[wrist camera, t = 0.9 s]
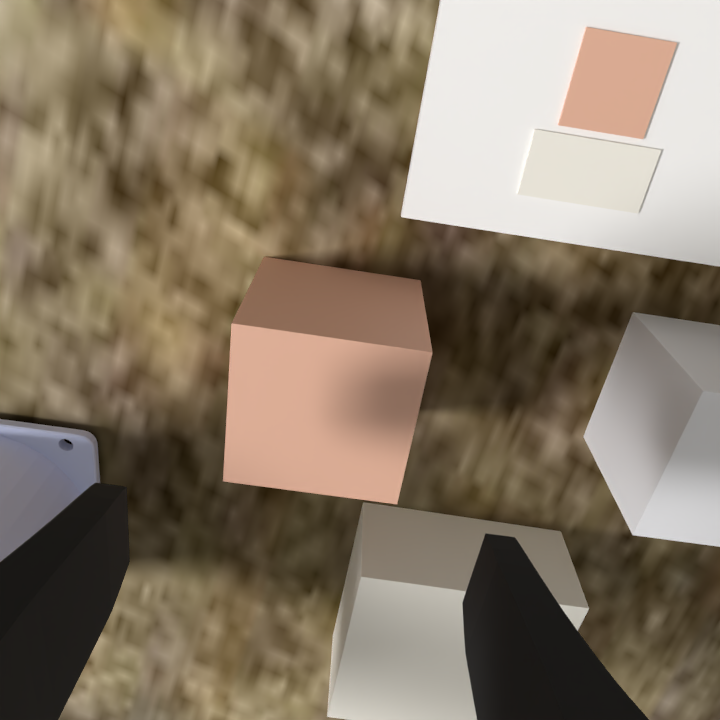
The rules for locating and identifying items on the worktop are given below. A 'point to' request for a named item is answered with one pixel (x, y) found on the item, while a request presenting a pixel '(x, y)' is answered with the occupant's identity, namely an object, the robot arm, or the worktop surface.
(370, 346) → the terracotta cube
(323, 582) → the worktop surface
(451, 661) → the cream base block
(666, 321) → the white cube
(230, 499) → the worktop surface
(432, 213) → the card
